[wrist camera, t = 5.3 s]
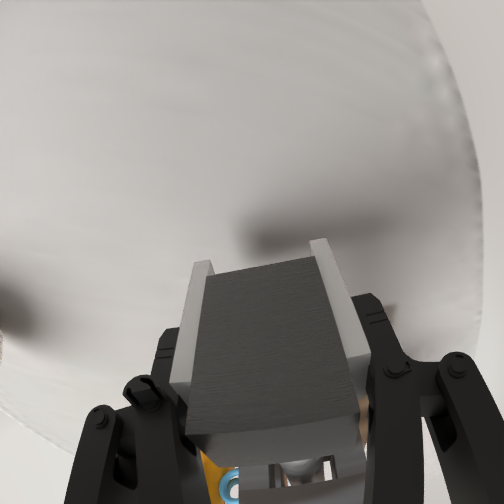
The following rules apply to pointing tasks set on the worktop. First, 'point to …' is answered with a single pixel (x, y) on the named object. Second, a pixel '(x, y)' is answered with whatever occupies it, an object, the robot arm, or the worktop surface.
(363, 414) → the jig
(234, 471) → the cylinder
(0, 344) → the sauce bottle
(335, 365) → the shaft
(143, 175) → the worktop surface
